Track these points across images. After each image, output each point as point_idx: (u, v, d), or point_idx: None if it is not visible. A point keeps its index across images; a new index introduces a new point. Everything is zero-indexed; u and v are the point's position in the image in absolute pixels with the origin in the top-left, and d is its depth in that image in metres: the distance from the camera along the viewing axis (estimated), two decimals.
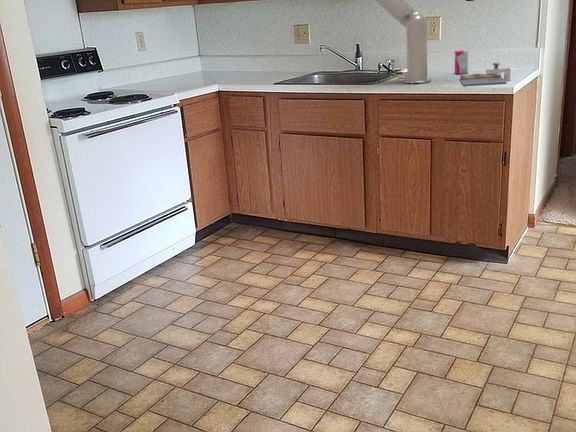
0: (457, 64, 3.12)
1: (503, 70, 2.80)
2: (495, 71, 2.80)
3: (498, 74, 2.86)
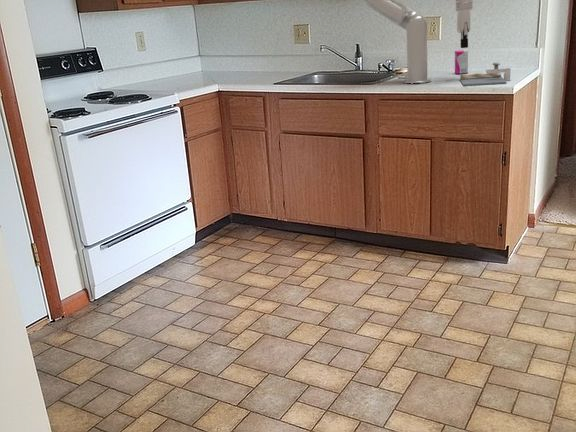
0: (457, 64, 3.12)
1: (503, 70, 2.80)
2: (495, 71, 2.80)
3: (498, 74, 2.86)
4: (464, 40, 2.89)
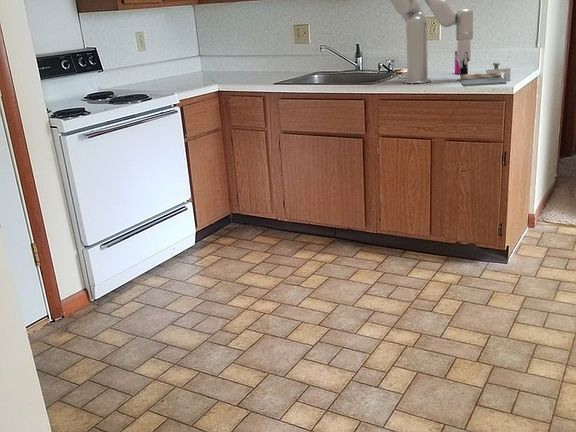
0: (457, 64, 3.12)
1: (503, 70, 2.80)
2: (495, 71, 2.80)
3: (498, 74, 2.86)
4: (464, 69, 2.91)
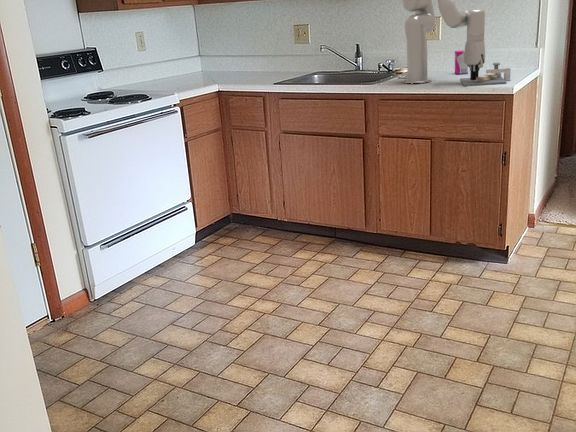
0: (457, 64, 3.12)
1: (503, 70, 2.80)
2: (495, 71, 2.80)
3: (500, 73, 2.88)
4: (476, 72, 2.79)
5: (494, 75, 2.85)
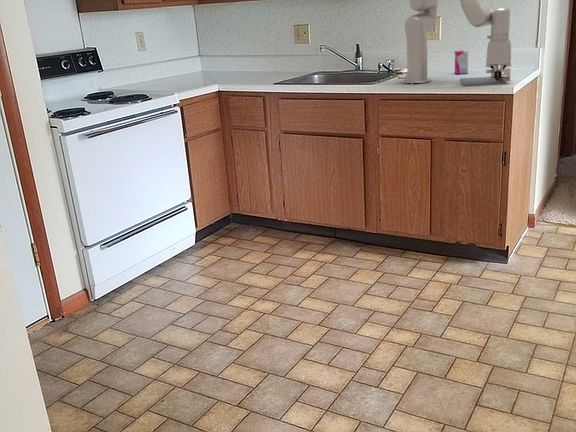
0: (457, 64, 3.12)
1: (503, 70, 2.80)
2: None
3: None
4: None
5: None
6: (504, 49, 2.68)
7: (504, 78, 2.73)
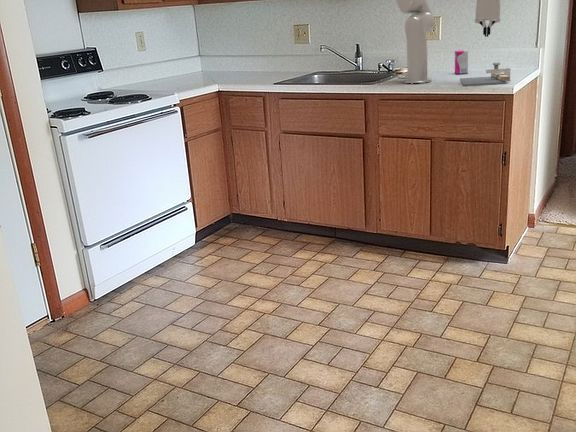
0: (457, 64, 3.12)
1: (503, 70, 2.80)
2: (495, 71, 2.80)
3: None
4: None
5: None
6: (493, 4, 2.66)
7: (504, 78, 2.73)
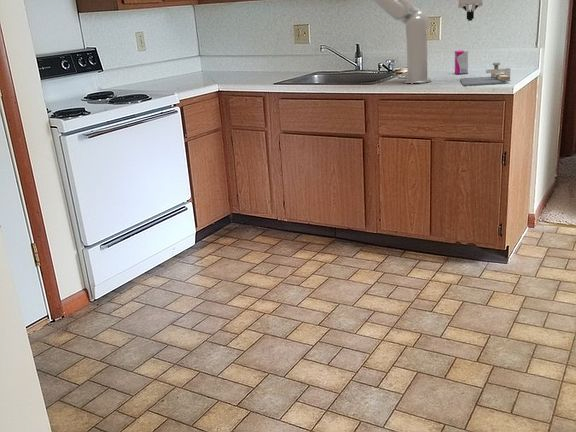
0: (457, 64, 3.12)
1: (503, 70, 2.80)
2: (495, 71, 2.80)
3: None
4: (473, 12, 2.81)
5: None
6: None
7: (504, 78, 2.73)
